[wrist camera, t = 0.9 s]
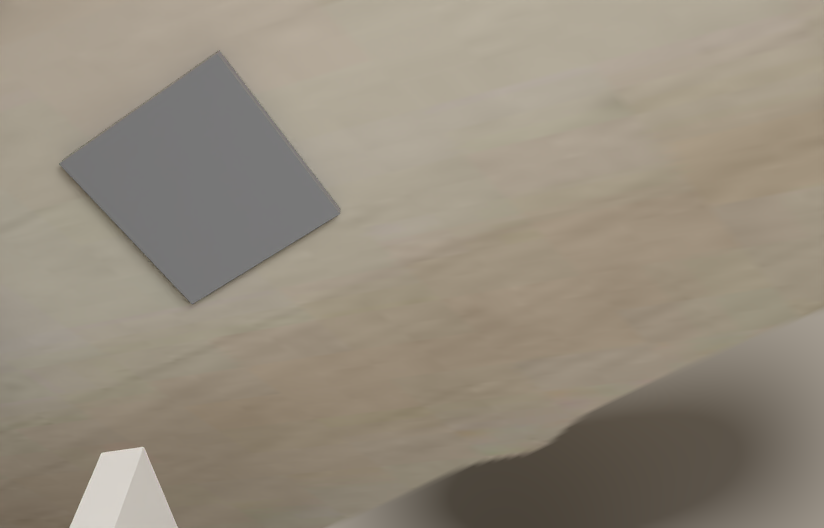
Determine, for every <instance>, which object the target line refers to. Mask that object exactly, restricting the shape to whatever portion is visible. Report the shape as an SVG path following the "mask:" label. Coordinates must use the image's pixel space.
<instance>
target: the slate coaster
mask: <svg viewBox="0 0 824 528" xmlns="http://www.w3.org/2000/svg"><path fill="white" fill-rule="evenodd" d="M59 164H60V165H61V167H62V168H63V169H64V170H65V171H66V172H67V173H68V174H69V175H70V176H71V177H72V178H73V179H74V180H75V181H76V182H77V183H78V184H79V186H80V187H81V188H82V189H83V190H84V191H85V192H86V193H87V194H88V195H89V196H90V197H91V198H92V199H93V200H94V201H95V202H96V203H97V205H98V206H99V207H100V208H101V209H102V210H103V211H104V212H105V213H106V214H107V215H108V216H109V217H110V218H111V219H112V220H113V221H114V222H115V224H116V225H117V226H118V227H119V228H120V229H121V230H122V231H123V232H124V233H125V234H126V235H127V236H128V237H129V238H130V239H131V240H132V241H133V243H134V244H135V245H136V246H137V247H138V248H139V249H140V250H141V251H142V252H143V253H144V254H145V255H146V256H147V257H148V258H149V259H150V260H151V261H152V263H153V264H154V265H155V266H156V267H157V268H158V269H159V270H160V271H161V272H162V273H163V274H164V275H165V276H166V277H167V278H168V279H169V280H170V282H171V283H172V284H173V285H174V286H175V287H176V288H177V289H178V290H179V291H180V292H181V293H182V294H183V295H184V296H185V297H186V298H187V299H188V301H189V302H190V303H191V304H194V303H195V302H197V301H198V300H200V299H202V298H203V297H205V296H207V295H208V294H210V293H211V292H213V291H215V290H216V289H218V288H220V287H221V286H223V285H225V284H226V283H228V282H229V281H231V280H233V279H234V278H236V277H238V276H239V275H241V274H243V273H244V272H246V271H247V270H249V269H251V268H252V267H254V266H256V265H257V264H259V263H260V262H262V261H264V260H265V259H267V258H269V257H270V256H272V255H274V254H275V253H277V252H278V251H280V250H282V249H283V248H285V247H287V246H288V245H290V244H292V243H293V242H295V241H296V240H298V239H300V238H301V237H303V236H305V235H306V234H308V233H310V232H311V231H313V230H314V229H316V228H318V227H319V226H321V225H323V224H324V223H326V222H327V221H329V220H331V219H332V218H334V217H336V216H337V215H339V214H340V208H339V207H338V205H337V204H336V203H335V201H334V200H333V199H332V197H331V196H330V195H329V194H328V192H327V191H326V190H325V188H324V187H323V186H322V184H321V183H320V182H319V180H318V179H317V178H316V177H315V175H314V174H313V173H312V171H311V170H310V169H309V167H308V166H307V165H306V163H305V162H304V161H303V159H302V158H301V157H300V156H299V154H298V153H297V152H296V150H295V149H294V148H293V146H292V145H291V144H290V142H289V141H288V140H287V138H286V137H285V136H284V135H283V133H282V132H281V131H280V129H279V128H278V127H277V125H276V124H275V123H274V121H273V120H272V119H271V118H270V116H269V115H268V114H267V112H266V111H265V110H264V108H263V107H262V106H261V104H260V103H259V102H258V100H257V99H256V98H255V97H254V95H253V94H252V93H251V91H250V90H249V89H248V87H247V86H246V85H245V83H244V82H243V81H242V79H241V78H240V77H239V76H238V74H237V73H236V72H235V70H234V69H233V68H232V66H231V65H230V64H229V62H228V61H227V60H226V59H225V57H224V56H223V55H222V53H221V52H220V51H217V52H216V53H214V54H213V55H212V56H210V57H209V58H207V59H206V60H204V61H203V62H202V63H200V64H199V65H197V66H196V67H194V68H193V69H192V70H190V71H189V72H187V73H186V74H185V75H183V76H182V77H180V78H179V79H177V80H176V81H175V82H173V83H172V84H170V85H169V86H167V87H166V88H165V89H163V90H162V91H160V92H159V93H157V94H156V95H155V96H153V97H152V98H150V99H149V100H147V101H146V102H145V103H143V104H142V105H140V106H139V107H137V108H136V109H135V110H133V111H132V112H130V113H129V114H127V115H126V116H125V117H123V118H122V119H120V120H119V121H117V122H116V123H115V124H113V125H112V126H110V127H109V128H107V129H106V130H105V131H103V132H102V133H100V134H99V135H98V136H96V137H95V138H93V139H92V140H90V141H89V142H88V143H86V144H85V145H83V146H82V147H80V148H79V149H78V150H76V151H75V152H73V153H72V154H70V155H69V156H68V157H66V158H65V159H63V160H62V161H61V162H60V163H59Z"/></svg>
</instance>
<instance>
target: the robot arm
mask: <svg viewBox="0 0 824 528" xmlns="http://www.w3.org/2000/svg"><path fill="white" fill-rule="evenodd" d="M70 528H178V527H177V525H176V522H175V520H174V518H173V515H172V513H171V510H170V508H169V506H168V503H167V501H166V498H165V496H164V494H163V491H162V489H161V487H160V484H159V482H158V479H157V477H156V475H155V472H154V470H153V467H152V465H151V463H150V460H149V458H148V456H147V453H146V451H145V448H144V447H139V448H132V449H125V450H118V451H111V452H104V453H101V455H100V458H99V460H98V462H97V465H96V467H95V469H94V472H93V474H92V476H91V479H90V481H89V483H88V486H87V488H86V490H85V493H84V495H83V497H82V500H81V502H80V504H79V507H78V509H77V511H76V514H75V516H74V518H73V521H72V523H71V525H70Z"/></svg>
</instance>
